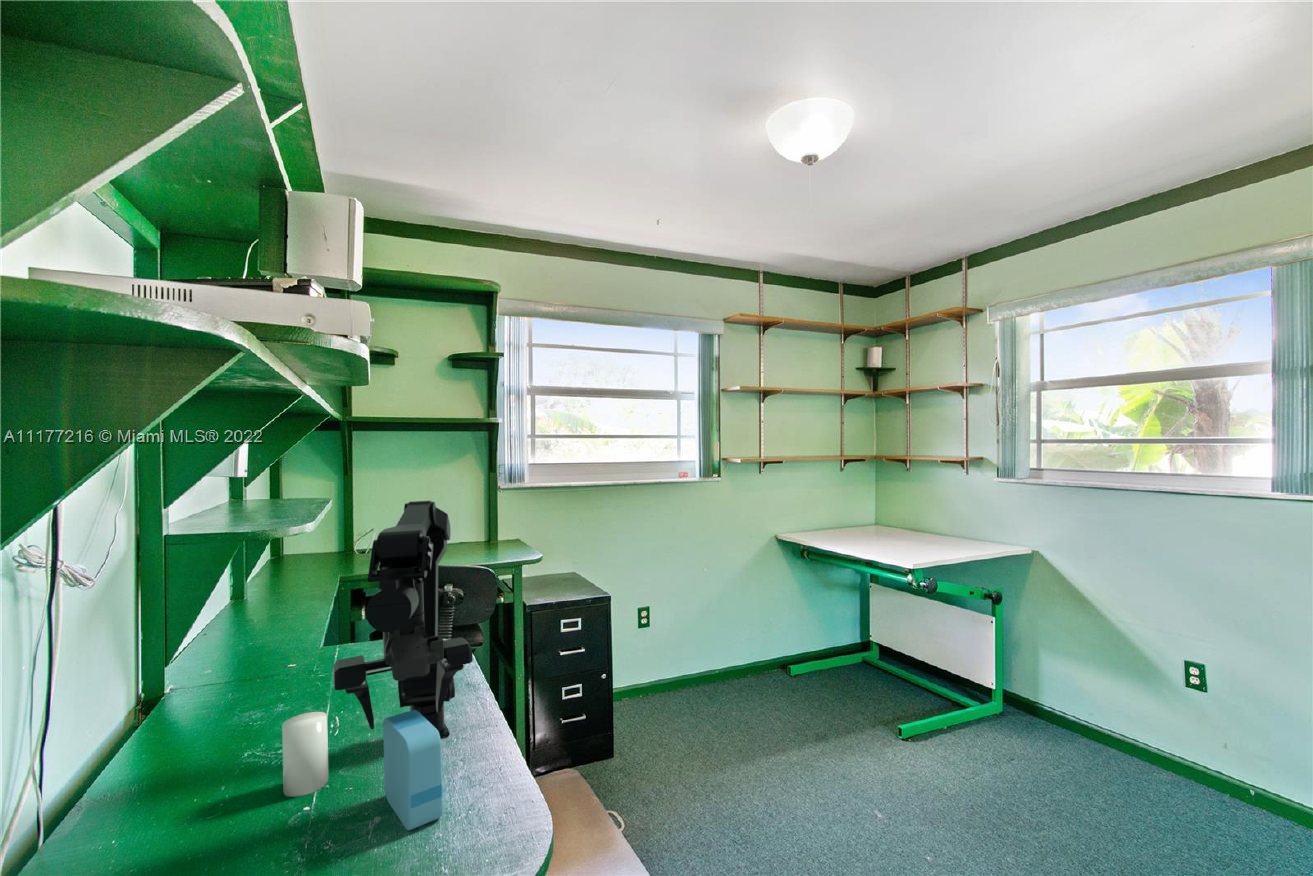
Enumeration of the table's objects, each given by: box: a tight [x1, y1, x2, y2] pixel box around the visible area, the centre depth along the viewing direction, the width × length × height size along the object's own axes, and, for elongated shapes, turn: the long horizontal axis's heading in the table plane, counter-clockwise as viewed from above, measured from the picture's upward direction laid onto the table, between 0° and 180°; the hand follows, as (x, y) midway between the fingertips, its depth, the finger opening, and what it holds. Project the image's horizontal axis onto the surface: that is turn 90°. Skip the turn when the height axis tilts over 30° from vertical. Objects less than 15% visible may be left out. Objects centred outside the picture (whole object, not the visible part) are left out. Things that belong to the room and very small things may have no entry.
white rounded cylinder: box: [281, 711, 330, 798], centre depth 92 cm, size 6×6×10 cm
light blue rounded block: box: [382, 710, 444, 831], centre depth 84 cm, size 12×4×12 cm, turn 39°
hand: (406, 720), depth 88 cm, fingers open, 9 cm apart
